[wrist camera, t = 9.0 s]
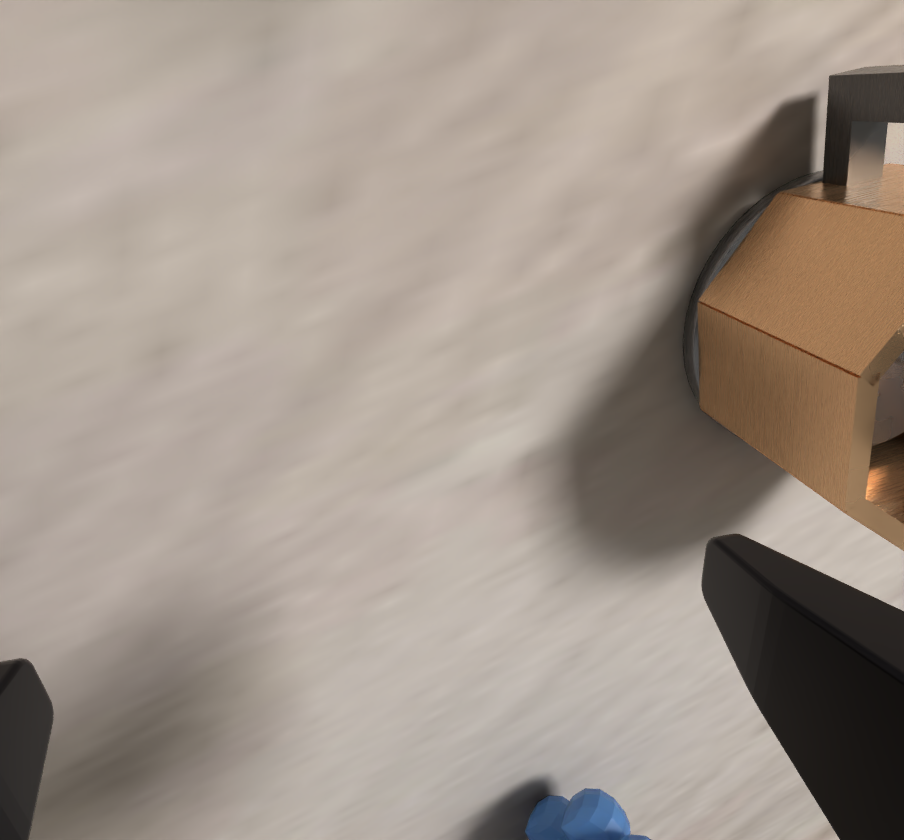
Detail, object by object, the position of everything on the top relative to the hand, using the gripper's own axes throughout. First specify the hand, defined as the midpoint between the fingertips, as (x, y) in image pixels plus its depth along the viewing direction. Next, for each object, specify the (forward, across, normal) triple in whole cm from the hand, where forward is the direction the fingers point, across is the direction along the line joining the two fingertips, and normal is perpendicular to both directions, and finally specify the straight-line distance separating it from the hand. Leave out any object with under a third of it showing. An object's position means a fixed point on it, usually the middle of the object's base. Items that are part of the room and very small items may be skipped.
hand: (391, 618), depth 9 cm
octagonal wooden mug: (+14, -16, +1) cm, 21 cm away
